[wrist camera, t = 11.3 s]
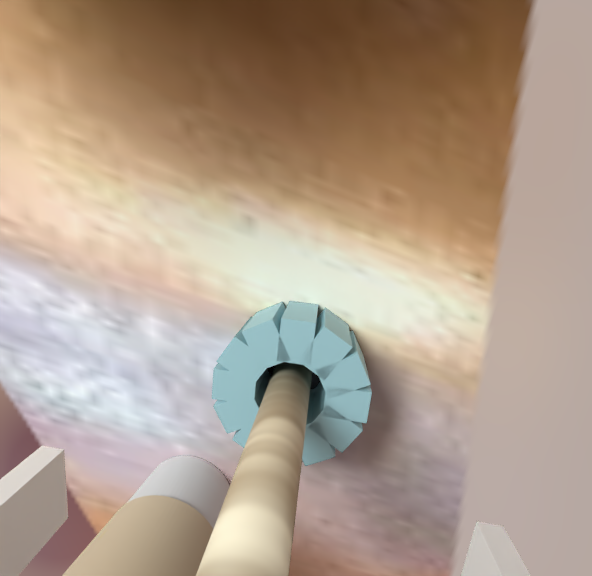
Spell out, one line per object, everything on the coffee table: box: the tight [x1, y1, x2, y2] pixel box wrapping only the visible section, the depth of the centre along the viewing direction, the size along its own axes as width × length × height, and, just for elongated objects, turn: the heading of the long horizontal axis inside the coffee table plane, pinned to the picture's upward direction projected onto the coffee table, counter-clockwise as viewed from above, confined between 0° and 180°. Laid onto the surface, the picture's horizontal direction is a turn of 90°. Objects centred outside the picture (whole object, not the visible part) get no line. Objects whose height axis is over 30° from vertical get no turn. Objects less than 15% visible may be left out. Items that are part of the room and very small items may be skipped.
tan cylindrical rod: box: [196, 362, 312, 576], centre depth 15 cm, size 2×2×16 cm
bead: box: [212, 301, 372, 466], centre depth 21 cm, size 9×9×4 cm
